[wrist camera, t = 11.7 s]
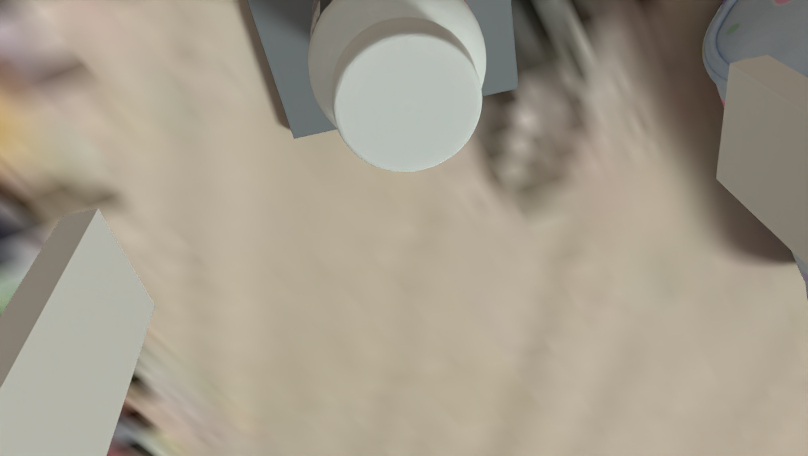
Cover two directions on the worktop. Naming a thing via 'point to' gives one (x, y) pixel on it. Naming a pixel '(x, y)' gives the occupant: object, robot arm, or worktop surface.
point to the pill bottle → (398, 77)
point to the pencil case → (757, 43)
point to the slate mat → (289, 43)
